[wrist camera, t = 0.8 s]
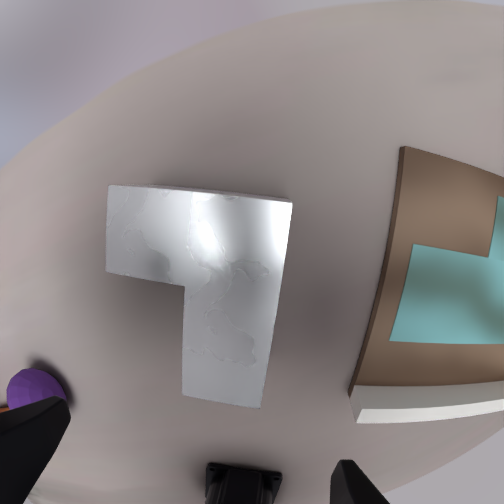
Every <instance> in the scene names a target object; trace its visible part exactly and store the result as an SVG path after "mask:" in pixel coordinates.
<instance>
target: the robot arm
mask: <svg viewBox="0 0 504 504" xmlns="http://www.w3.org/2000/svg"><path fill="white" fill-rule="evenodd" d="M70 420H71V415H70V412H69V408H68V405H67V401H66V400H65V399H64V398H62V397H59V396H57V395H54V396H51V397H48V398H45V399H42V400H39V401H36V402H33V403H30V404H27V405H24V406H21V407H17V408H14V409H11V410H8V411H4V412H1V413H0V504H23V503H24V501H25V499H26V498H27V496H28V494H29V493H30V491H31V489H32V488H33V486H34V485H35V483H36V481H37V480H38V478H39V477H40V475H41V473H42V472H43V470H44V469H45V467H46V465H47V464H48V462H49V461H50V459H51V458H52V456H53V454H54V453H55V451H56V449H57V447H58V445H59V443H60V441H61V439H62V437H63V435H64V433H65V431H66V429H67V427H68V425H69V423H70ZM281 481H282V474H281V473H276V472H266V471H258V470H250V469H243V468H237V467H230V466H225V465H219V464H214V463H209V464H208V465H207V468H206V493H205V497H206V502H205V504H273V503H274V500H275V497H276V495H277V492H278V490H279V487H280V484H281ZM330 504H390V503H389V502H388V501H387V500H386V499H385V497H384V496H383V495H382V494H381V493H380V492H379V490H378V489H377V488H376V487H375V486H374V485H373V483H372V482H371V481H370V480H369V479H368V477H367V476H366V475H365V474H364V473H363V471H362V470H361V469H360V468H359V467H358V465H357V464H356V463H355V462H354V461H353V460H340V461H339V462H338V463H337V465H336V467H335V469H334V471H333V473H332V476H331V485H330Z"/></svg>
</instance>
